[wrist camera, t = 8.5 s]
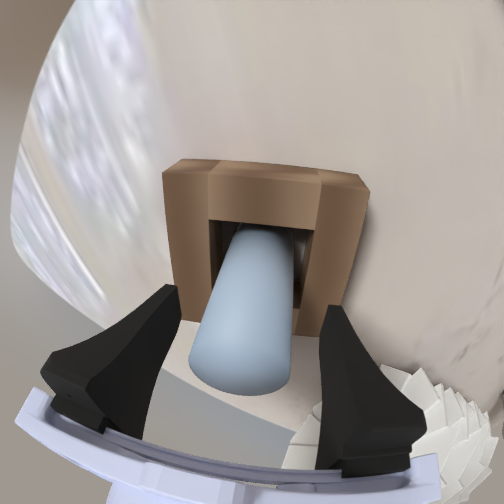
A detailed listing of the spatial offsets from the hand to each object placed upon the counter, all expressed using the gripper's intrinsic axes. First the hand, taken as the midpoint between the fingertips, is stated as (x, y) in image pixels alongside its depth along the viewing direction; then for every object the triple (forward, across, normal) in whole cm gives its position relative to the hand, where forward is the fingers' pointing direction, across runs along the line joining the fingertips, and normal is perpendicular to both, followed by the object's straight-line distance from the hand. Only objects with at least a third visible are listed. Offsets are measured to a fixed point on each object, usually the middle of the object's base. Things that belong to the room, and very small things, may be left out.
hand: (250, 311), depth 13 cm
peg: (+7, 0, 0) cm, 7 cm away
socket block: (+7, 0, 0) cm, 7 cm away
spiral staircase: (+7, -18, +20) cm, 28 cm away
